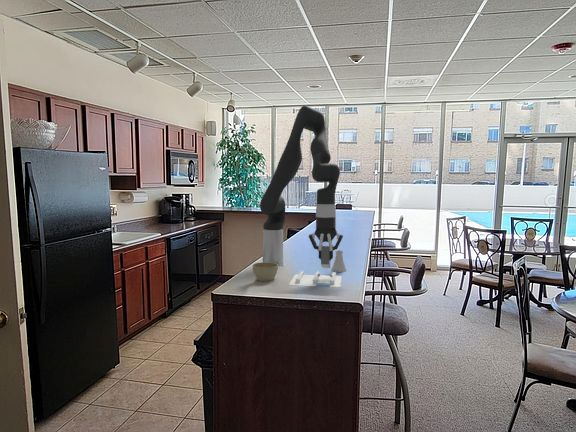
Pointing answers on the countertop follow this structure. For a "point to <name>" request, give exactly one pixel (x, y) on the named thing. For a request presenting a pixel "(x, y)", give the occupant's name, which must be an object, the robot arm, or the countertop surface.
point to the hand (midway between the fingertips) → (325, 259)
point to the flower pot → (265, 271)
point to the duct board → (316, 280)
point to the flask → (339, 262)
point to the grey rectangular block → (325, 256)
